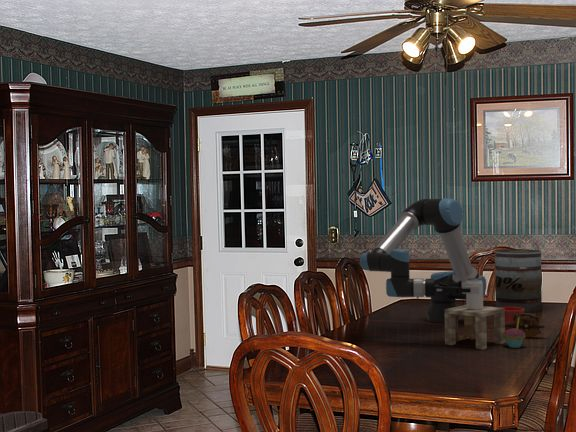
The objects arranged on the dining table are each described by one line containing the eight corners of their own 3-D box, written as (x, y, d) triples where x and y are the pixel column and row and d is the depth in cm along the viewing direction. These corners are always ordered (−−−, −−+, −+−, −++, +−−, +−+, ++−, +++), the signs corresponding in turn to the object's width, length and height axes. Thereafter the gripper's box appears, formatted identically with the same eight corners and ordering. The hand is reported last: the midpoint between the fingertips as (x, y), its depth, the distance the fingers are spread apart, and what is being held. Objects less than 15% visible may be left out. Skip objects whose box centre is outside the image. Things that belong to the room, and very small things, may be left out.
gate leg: (457, 342, 315) (457, 313, 315) (450, 341, 318) (450, 312, 318) (476, 338, 324) (476, 309, 323) (469, 337, 326) (469, 308, 326)
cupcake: (526, 345, 310) (525, 314, 309) (525, 349, 302) (524, 318, 301) (503, 344, 312) (503, 314, 312) (502, 348, 304) (501, 317, 304)
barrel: (488, 307, 408) (487, 250, 408) (529, 305, 412) (528, 248, 411) (507, 314, 386) (506, 253, 385) (549, 312, 390) (549, 251, 389)
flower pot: (525, 332, 335) (525, 310, 335) (499, 332, 338) (498, 310, 337) (523, 328, 346) (523, 306, 345) (497, 328, 348) (497, 306, 348)
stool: (445, 344, 314) (444, 309, 314) (467, 338, 327) (467, 304, 326) (482, 349, 303) (482, 313, 302) (504, 342, 315) (504, 308, 314)
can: (464, 307, 317) (463, 278, 316) (480, 307, 317) (479, 277, 317) (469, 310, 310) (468, 280, 310) (485, 309, 311) (484, 279, 310)
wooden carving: (503, 337, 326) (503, 313, 326) (504, 335, 330) (504, 312, 330) (545, 339, 320) (545, 315, 320) (545, 337, 325) (545, 313, 324)
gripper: (425, 293, 330) (477, 293, 326) (423, 301, 306) (479, 301, 301) (425, 275, 330) (477, 275, 326) (423, 282, 305) (479, 282, 301)
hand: (478, 288), depth 314 cm, fingers open, 13 cm apart
